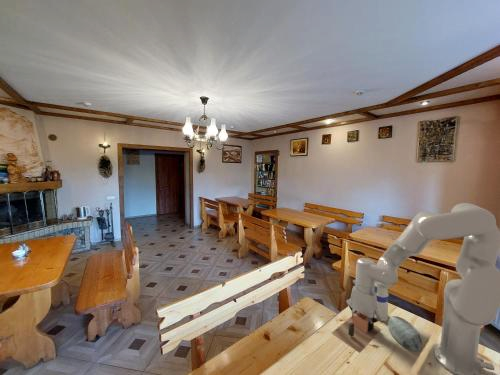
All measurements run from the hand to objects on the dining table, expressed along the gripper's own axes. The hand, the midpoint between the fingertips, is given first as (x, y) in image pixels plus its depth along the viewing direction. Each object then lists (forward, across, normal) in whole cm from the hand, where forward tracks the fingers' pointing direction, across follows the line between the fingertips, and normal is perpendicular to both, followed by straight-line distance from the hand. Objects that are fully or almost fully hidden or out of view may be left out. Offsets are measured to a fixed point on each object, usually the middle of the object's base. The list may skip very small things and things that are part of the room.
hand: (362, 324), depth 94 cm
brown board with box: (+2, 0, -5) cm, 5 cm away
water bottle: (+2, +1, +13) cm, 13 cm away
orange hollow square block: (+1, 0, 0) cm, 1 cm away
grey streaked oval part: (+2, +13, +7) cm, 15 cm away
